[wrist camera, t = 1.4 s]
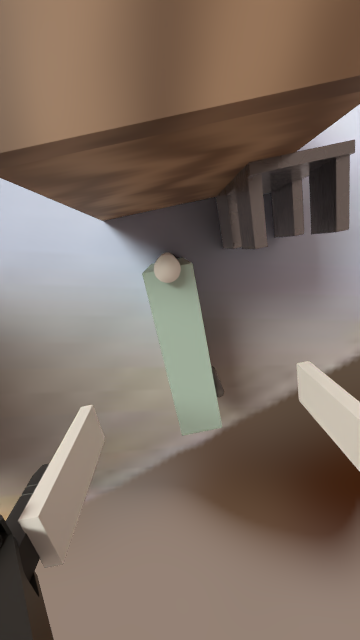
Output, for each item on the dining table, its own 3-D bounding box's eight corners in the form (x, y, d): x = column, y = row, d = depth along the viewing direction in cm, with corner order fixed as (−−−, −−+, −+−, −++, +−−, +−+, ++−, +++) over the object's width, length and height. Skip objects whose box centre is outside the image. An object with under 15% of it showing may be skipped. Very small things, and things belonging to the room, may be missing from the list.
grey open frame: (223, 248, 30) (257, 249, 19) (215, 196, 28) (248, 162, 17) (282, 236, 30) (353, 228, 19) (278, 183, 28) (354, 139, 17)
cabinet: (101, 224, 29) (-60, 166, 8) (65, 96, 25) (-382, -571, 5) (245, 193, 28) (442, 57, 8) (231, 60, 25) (526, -795, 4)
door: (177, 373, 35) (182, 443, 22) (149, 255, 30) (137, 261, 17) (212, 366, 35) (237, 432, 22) (190, 247, 30) (207, 246, 17)
